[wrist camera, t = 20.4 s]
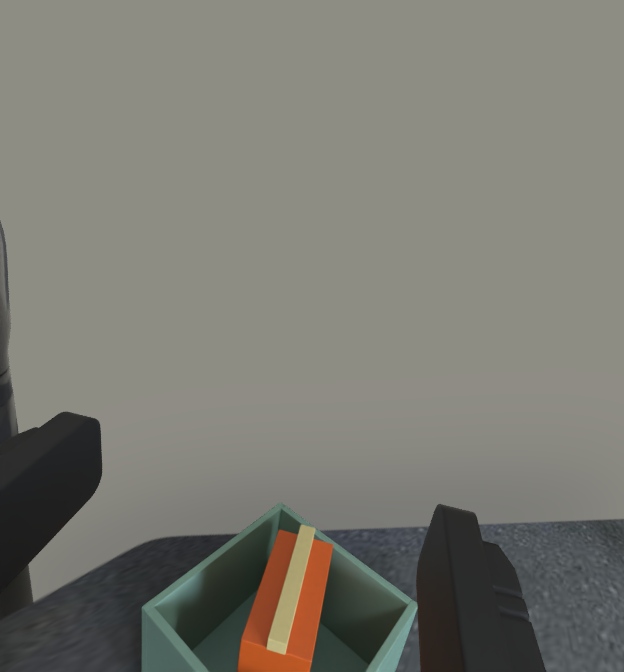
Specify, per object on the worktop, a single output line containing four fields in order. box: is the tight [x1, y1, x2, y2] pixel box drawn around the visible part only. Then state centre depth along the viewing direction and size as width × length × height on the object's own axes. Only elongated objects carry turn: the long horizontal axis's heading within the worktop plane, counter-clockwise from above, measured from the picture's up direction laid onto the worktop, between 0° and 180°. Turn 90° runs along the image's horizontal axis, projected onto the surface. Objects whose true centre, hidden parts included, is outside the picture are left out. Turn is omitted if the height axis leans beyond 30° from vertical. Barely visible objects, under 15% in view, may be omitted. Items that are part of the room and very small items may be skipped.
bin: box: [142, 503, 418, 672], centre depth 33 cm, size 14×14×10 cm
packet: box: [237, 524, 333, 672], centre depth 32 cm, size 4×9×12 cm, turn 169°
